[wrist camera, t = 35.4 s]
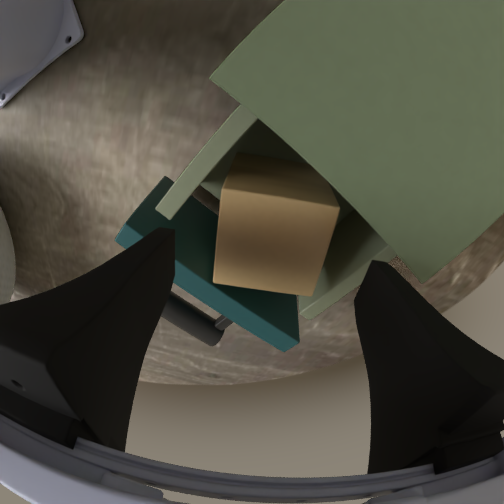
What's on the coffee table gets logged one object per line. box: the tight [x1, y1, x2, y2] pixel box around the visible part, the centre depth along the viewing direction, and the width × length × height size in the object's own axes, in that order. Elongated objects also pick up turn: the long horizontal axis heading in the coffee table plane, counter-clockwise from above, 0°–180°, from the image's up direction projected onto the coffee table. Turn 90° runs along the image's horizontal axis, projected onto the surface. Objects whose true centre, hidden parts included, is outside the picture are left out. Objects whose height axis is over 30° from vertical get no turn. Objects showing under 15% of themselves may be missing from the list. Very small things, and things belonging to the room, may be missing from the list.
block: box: [213, 152, 340, 297], centre depth 14 cm, size 4×4×5 cm
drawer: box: [115, 104, 397, 352], centre depth 15 cm, size 17×10×6 cm, turn 139°
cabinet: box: [209, 0, 504, 284], centre depth 10 cm, size 14×12×8 cm
